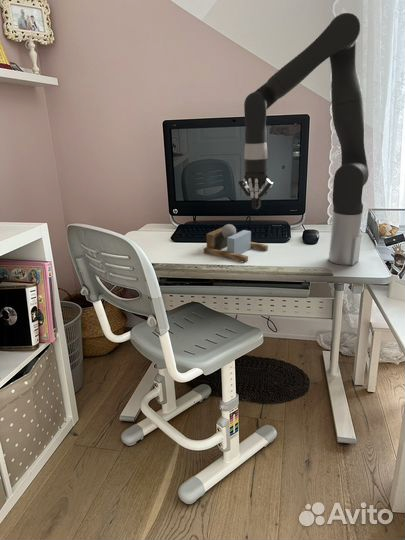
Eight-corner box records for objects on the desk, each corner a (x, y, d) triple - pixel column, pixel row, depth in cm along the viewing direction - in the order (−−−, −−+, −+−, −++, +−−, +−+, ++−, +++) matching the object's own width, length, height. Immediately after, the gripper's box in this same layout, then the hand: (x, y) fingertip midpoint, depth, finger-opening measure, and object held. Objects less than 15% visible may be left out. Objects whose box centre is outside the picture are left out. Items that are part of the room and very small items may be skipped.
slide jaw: (250, 248, 162) (250, 231, 159) (234, 257, 153) (234, 239, 151) (242, 246, 164) (243, 229, 161) (226, 255, 155) (226, 237, 153)
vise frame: (267, 250, 160) (268, 232, 158) (245, 262, 148) (245, 243, 146) (227, 242, 170) (227, 225, 168) (203, 253, 159) (203, 235, 156)
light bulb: (220, 251, 161) (217, 225, 158) (229, 247, 164) (226, 222, 161) (232, 252, 157) (229, 226, 154) (240, 248, 161) (238, 222, 158)
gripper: (279, 156, 141) (278, 208, 147) (244, 155, 149) (245, 204, 155) (268, 159, 136) (268, 212, 142) (233, 158, 143) (234, 209, 149)
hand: (256, 208), depth 148 cm, fingers closed
